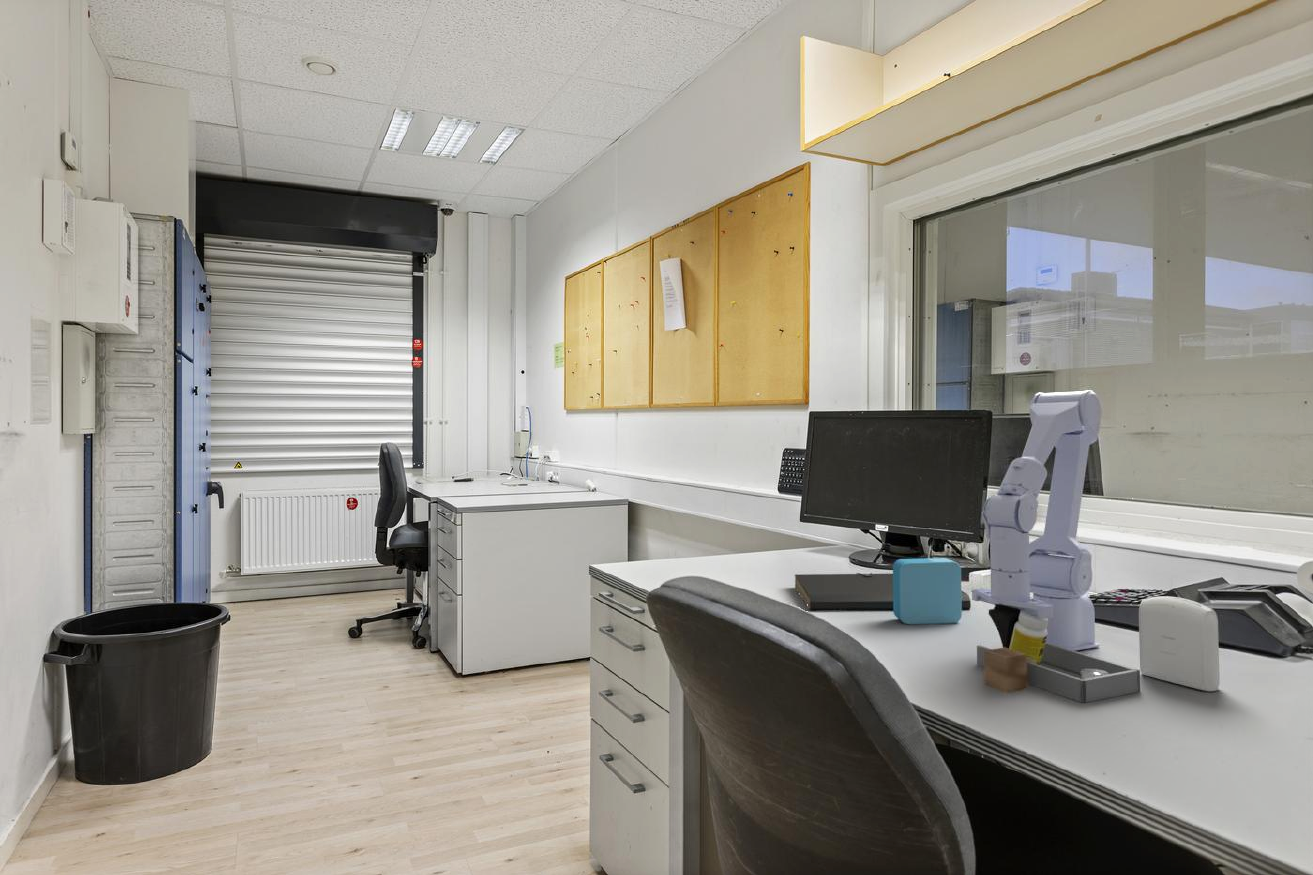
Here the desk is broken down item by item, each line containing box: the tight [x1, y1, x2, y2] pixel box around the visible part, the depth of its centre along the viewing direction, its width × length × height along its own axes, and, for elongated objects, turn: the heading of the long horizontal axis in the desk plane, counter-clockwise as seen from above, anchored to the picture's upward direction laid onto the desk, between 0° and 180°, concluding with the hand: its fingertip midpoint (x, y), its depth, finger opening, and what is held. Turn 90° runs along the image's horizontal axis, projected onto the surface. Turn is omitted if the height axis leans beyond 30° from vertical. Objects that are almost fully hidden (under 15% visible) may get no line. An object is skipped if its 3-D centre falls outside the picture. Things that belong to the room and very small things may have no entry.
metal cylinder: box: [1080, 669, 1109, 679], centre depth 110 cm, size 4×4×3 cm
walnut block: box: [984, 647, 1028, 693], centre depth 113 cm, size 4×4×5 cm
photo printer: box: [1138, 595, 1221, 692], centre depth 114 cm, size 10×4×12 cm, turn 26°
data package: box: [892, 557, 963, 625], centre depth 152 cm, size 12×4×12 cm, turn 91°
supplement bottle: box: [1009, 610, 1048, 666], centre depth 121 cm, size 5×5×8 cm
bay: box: [976, 642, 1141, 704], centre depth 117 cm, size 11×19×3 cm, turn 22°
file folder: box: [794, 572, 972, 612], centre depth 173 cm, size 33×4×24 cm
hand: (1010, 653), depth 124 cm, fingers closed, pressing on supplement bottle
